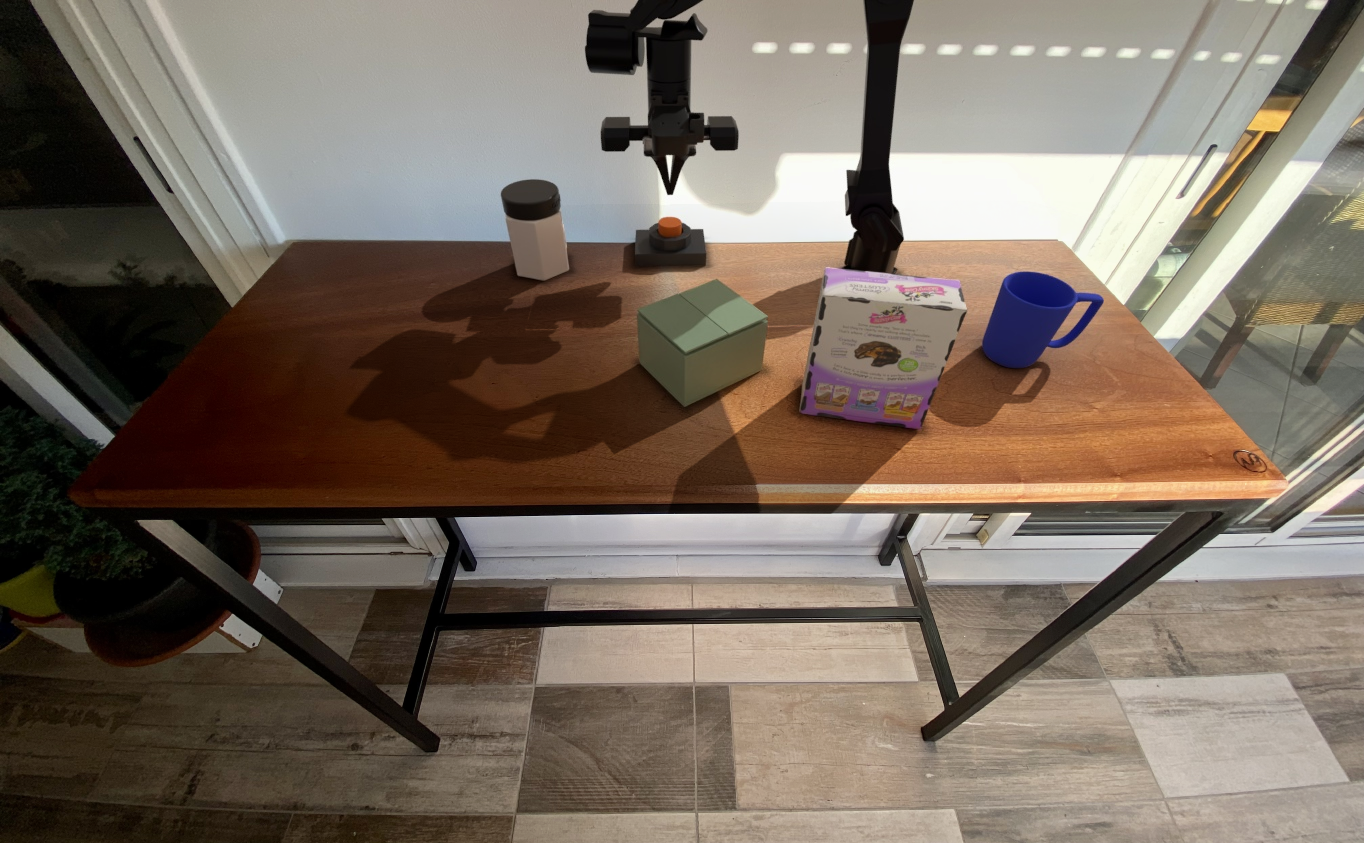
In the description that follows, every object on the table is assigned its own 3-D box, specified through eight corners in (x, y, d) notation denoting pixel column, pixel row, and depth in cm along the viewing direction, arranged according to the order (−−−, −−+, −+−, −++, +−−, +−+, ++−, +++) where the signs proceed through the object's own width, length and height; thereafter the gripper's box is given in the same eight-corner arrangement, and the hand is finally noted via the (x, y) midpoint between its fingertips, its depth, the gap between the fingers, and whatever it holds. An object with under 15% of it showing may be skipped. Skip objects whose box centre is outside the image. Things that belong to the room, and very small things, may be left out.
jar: (572, 278, 90) (561, 201, 82) (517, 284, 89) (500, 207, 80) (567, 249, 96) (556, 175, 88) (515, 254, 95) (500, 180, 87)
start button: (681, 227, 94) (681, 216, 93) (681, 238, 92) (682, 227, 91) (658, 227, 94) (658, 216, 93) (658, 238, 92) (658, 227, 91)
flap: (716, 280, 75) (716, 278, 75) (768, 318, 70) (768, 316, 69) (678, 295, 73) (678, 293, 73) (728, 335, 67) (728, 333, 67)
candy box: (916, 398, 72) (963, 277, 60) (920, 432, 68) (970, 310, 56) (801, 382, 74) (824, 262, 62) (798, 414, 69) (822, 293, 58)
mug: (1082, 377, 75) (1125, 309, 68) (986, 375, 75) (1018, 308, 68) (1055, 337, 80) (1091, 271, 73) (965, 335, 81) (993, 270, 73)
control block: (702, 241, 99) (703, 218, 96) (705, 266, 93) (706, 242, 90) (636, 241, 98) (635, 219, 96) (635, 267, 93) (634, 243, 90)
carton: (714, 331, 81) (717, 278, 75) (762, 370, 75) (769, 316, 69) (639, 363, 76) (636, 309, 70) (684, 407, 70) (685, 352, 64)
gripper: (592, 97, 72) (604, 220, 83) (747, 96, 72) (738, 218, 83) (598, 70, 79) (608, 186, 90) (737, 69, 80) (730, 184, 91)
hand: (670, 194), depth 89 cm, fingers closed
